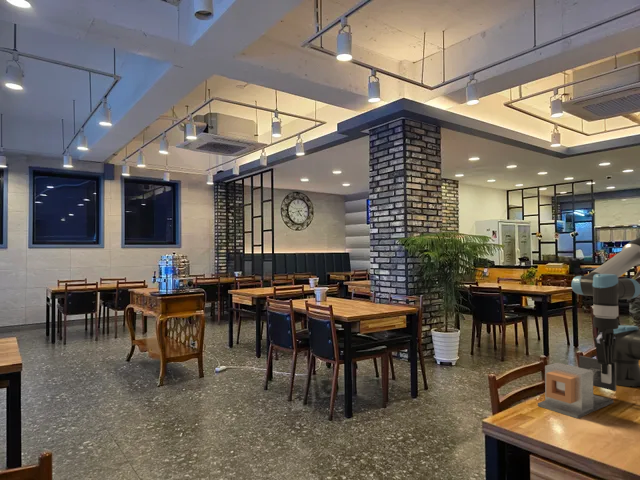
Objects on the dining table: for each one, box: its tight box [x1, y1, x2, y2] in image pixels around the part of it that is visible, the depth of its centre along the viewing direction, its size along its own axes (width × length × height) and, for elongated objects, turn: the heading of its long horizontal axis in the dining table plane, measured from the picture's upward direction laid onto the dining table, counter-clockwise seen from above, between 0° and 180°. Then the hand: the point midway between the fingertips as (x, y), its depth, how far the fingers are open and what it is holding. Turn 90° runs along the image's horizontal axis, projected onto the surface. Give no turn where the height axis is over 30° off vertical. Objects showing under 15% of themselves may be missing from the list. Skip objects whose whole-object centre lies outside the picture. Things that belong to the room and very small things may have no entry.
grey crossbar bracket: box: [556, 355, 617, 392], centre depth 151 cm, size 27×12×10 cm, turn 124°
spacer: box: [546, 372, 575, 404], centre depth 143 cm, size 3×8×8 cm, turn 34°
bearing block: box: [537, 362, 614, 419], centre depth 149 cm, size 26×13×13 cm, turn 124°
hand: (606, 382), depth 152 cm, fingers closed
